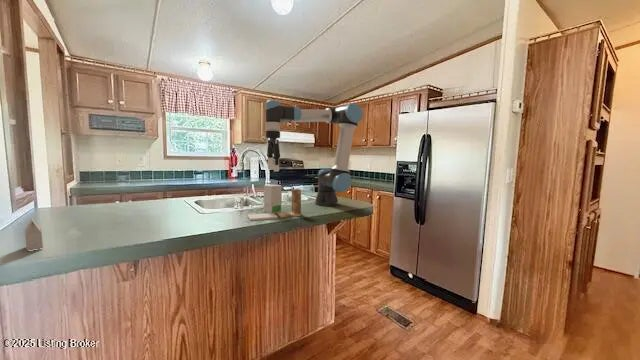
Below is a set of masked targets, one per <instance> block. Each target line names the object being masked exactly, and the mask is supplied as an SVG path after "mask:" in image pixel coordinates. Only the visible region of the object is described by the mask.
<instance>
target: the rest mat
mask: <svg viewBox="0 0 640 360" xmlns="http://www.w3.org/2000/svg"><path fill="white" fill-rule="evenodd" d="M246 217H247V219H248V220H249V221H252V222H253V221H264V220H276V219H278V217H279V216H278V215H277V214H276V213H254V214H246Z"/></svg>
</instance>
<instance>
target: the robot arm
mask: <svg viewBox="0 0 640 360" xmlns="http://www.w3.org/2000/svg"><path fill="white" fill-rule="evenodd" d="M264 110H265V123H264V126H265V130H266V131H265V138H267V139H268V140H267V151H266V152H267V153H266V157H267V170H273V172H279V171H280V158H281V152H280V151H281V150H280V145H279V141H280V140H279V139H280V138H281V131H280V130H281V124H283V123H297V122H298V123H310V122H311V123H321V122H323V123H326V124H337V125H338V126H339V133H338V139H337V146H336V154H335V158H334V165H333V166H332V167H331V168H328V169H326V168H325V169H320V170H319V171H318V178H317V179H318V180H317V181H318V182H317V187H318V188H317V194H316V197H315V201H314V203H315V205H317V206H323V207H330V206H331V207H332V206H337V204H339V200H338V196H337V193H338V192H339V193H344V192H346V191H348V190H349V189H350V188H351V186H352V183H353V182H352V180H353V179H352V176H351V175H350V169H349V162H350V157H351V151H352V144H353V139H354V132H355V130H356V129H357V128H358V123H359V122H361V120H362V119H363V116H364V115H363V109H362V108H361V106H360V105H359V104H358V103H356V102H355V103H354V102H349V103H347V104H346V103H345V104H342V105H339V106H338V105H337V106H335V107H327V108H325V109H313V108H312V109H305V108H304V109H301V108H300V107H299V106H290V105H289V106H288V105H282V104H281V103H280V100H274V99H273V100H267V101H266V102H265V109H264ZM336 192H337V193H336Z"/></svg>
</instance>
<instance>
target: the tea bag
mask: <svg viewBox="0 0 640 360" xmlns="http://www.w3.org/2000/svg"><path fill="white" fill-rule="evenodd" d="M24 236H25V246H26V251H27V250H33V249H40V248H43V249H44V246H43V234H42V230H41V228H40V226H39V225H38V224H37V223H36V222H35V220H34V218H33V217H32V218H30V221H29V222H28V224H27V226H26V227H25V229H24Z"/></svg>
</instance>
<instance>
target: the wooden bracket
mask: <svg viewBox="0 0 640 360" xmlns="http://www.w3.org/2000/svg"><path fill="white" fill-rule="evenodd" d="M276 216H278V217H279V218H287V217H299V216H302V189H300V188H292V189H291V211H283V212H279V213H276Z"/></svg>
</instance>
